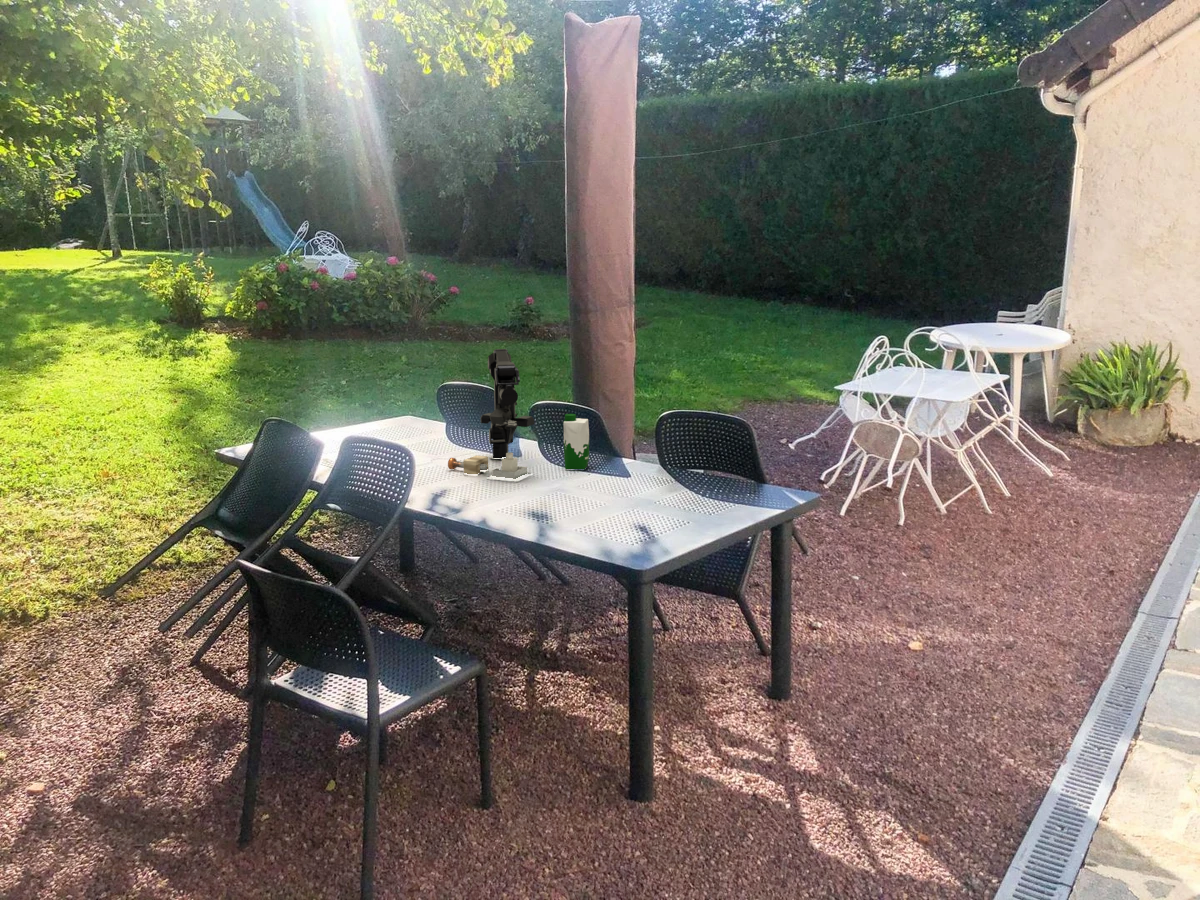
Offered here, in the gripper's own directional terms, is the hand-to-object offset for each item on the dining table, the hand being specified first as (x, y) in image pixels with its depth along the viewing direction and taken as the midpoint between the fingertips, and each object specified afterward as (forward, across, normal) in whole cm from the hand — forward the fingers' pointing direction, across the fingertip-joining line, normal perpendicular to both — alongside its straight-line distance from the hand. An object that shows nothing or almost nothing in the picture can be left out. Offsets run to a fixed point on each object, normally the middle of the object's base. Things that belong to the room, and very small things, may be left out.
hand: (507, 443), depth 334 cm
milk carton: (+12, +17, +21) cm, 29 cm away
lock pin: (+12, -17, 0) cm, 20 cm away
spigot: (+11, +1, 0) cm, 11 cm away
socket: (+12, +1, 0) cm, 12 cm away
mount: (+12, -13, 0) cm, 18 cm away
